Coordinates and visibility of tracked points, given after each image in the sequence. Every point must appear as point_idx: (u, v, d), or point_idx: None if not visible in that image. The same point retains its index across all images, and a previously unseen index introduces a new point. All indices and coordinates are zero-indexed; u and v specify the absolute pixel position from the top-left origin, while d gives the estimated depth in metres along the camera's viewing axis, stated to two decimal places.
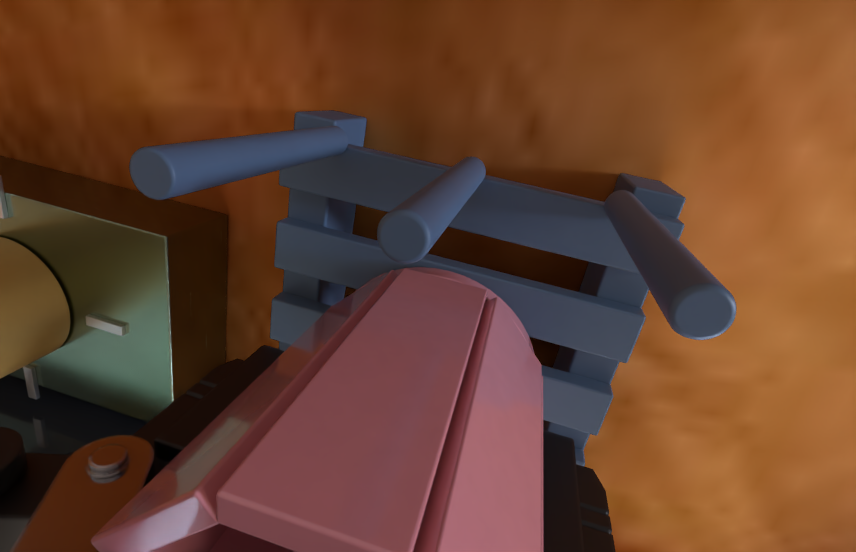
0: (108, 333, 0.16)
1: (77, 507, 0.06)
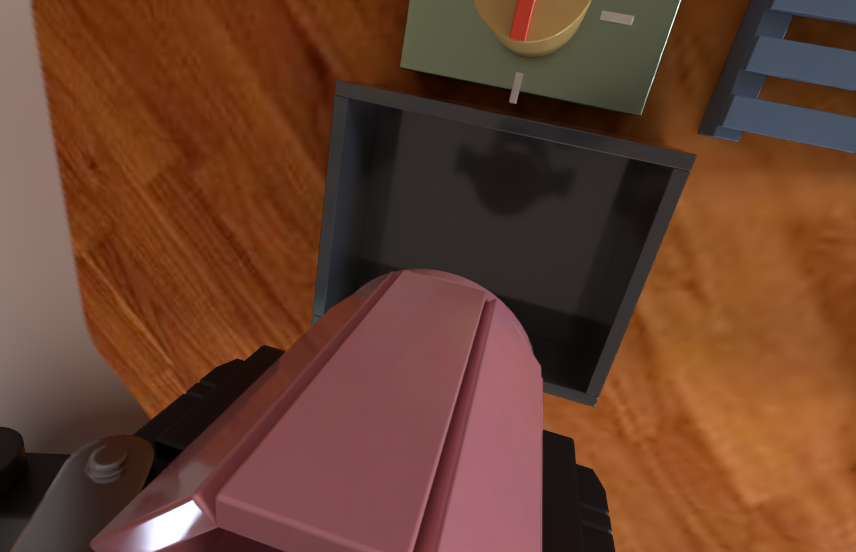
0: (613, 27, 0.21)
1: (77, 507, 0.06)
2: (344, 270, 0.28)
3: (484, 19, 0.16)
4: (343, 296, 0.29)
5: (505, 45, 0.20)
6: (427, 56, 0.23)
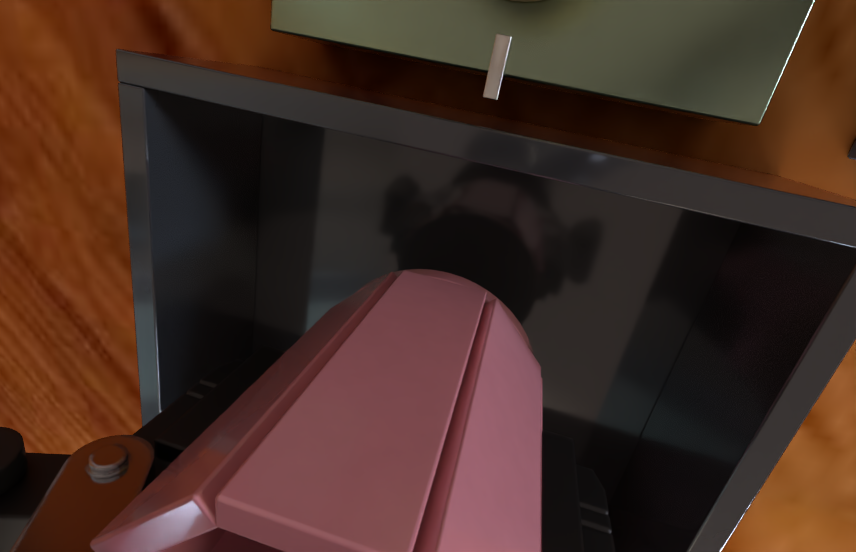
0: None
1: (77, 507, 0.06)
2: None
3: None
4: None
5: None
6: (320, 4, 0.11)
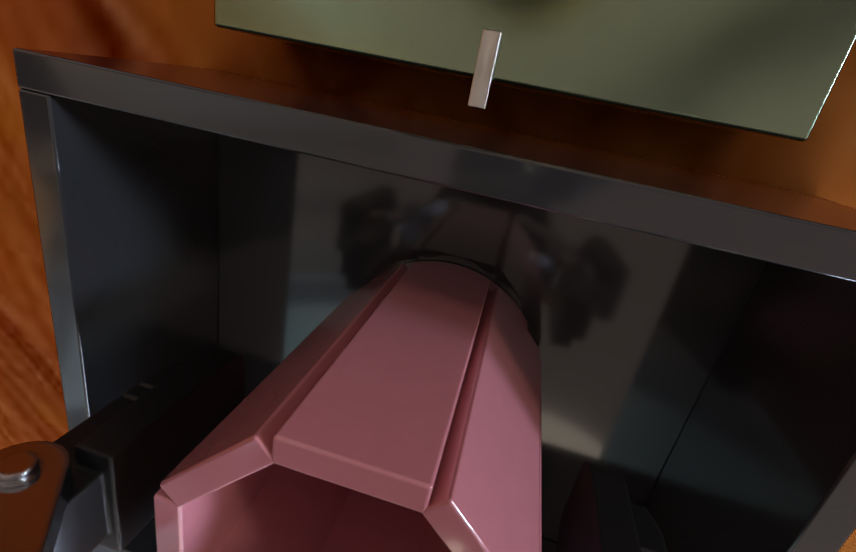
0: None
1: None
2: None
3: None
4: None
5: None
6: None
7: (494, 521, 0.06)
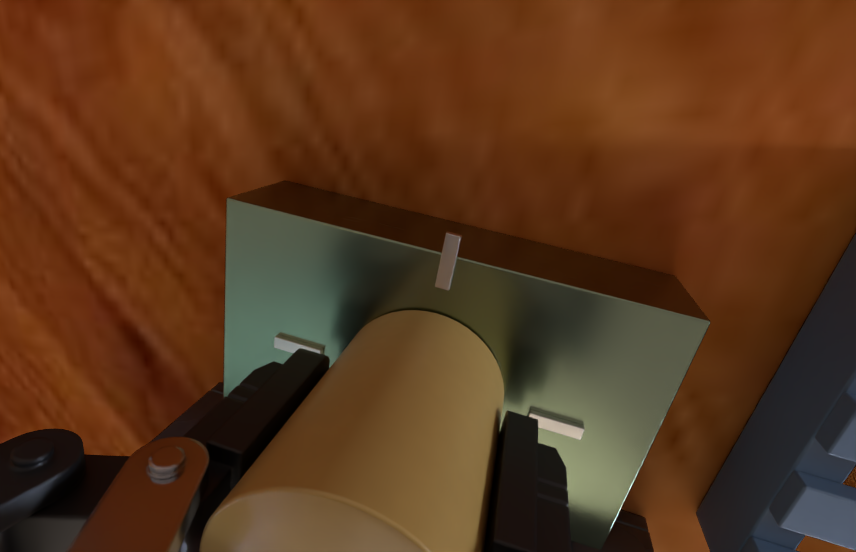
0: (550, 433, 0.12)
1: (142, 508, 0.07)
2: None
3: None
4: None
5: None
6: None
7: None
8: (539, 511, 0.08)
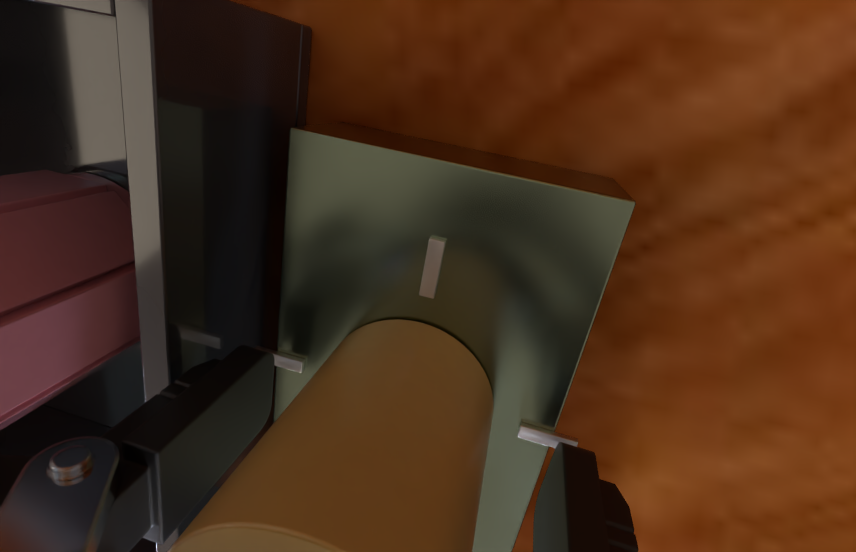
0: None
1: (35, 510, 0.06)
2: None
3: None
4: None
5: None
6: (316, 194, 0.11)
7: None
8: None
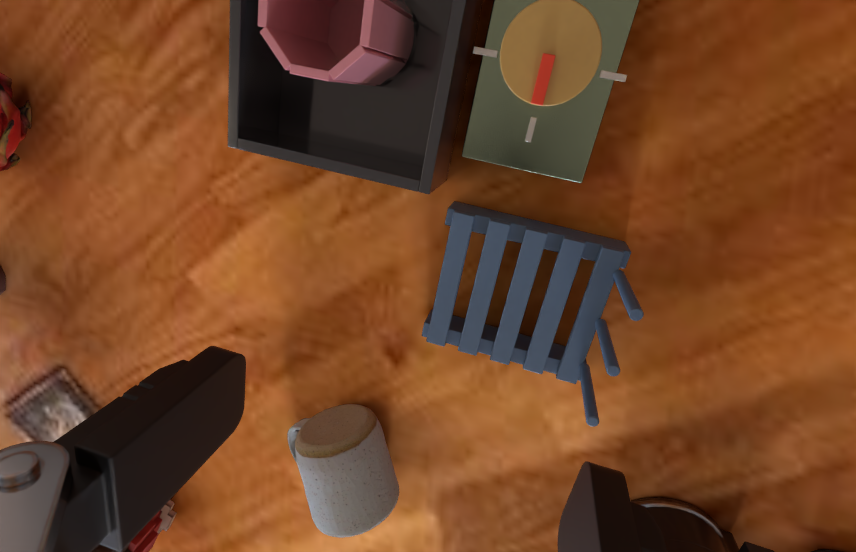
0: (524, 128, 0.27)
1: None
2: None
3: (511, 88, 0.21)
4: None
5: None
6: None
7: (355, 65, 0.23)
8: None
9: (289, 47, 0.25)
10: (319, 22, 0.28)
